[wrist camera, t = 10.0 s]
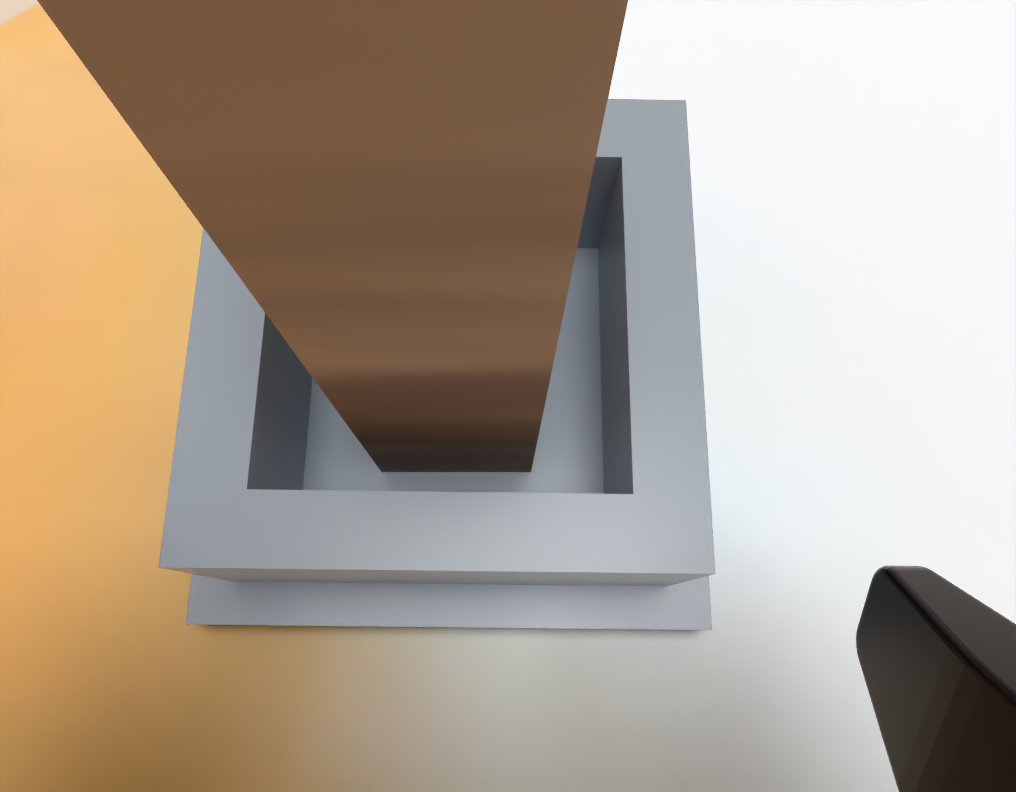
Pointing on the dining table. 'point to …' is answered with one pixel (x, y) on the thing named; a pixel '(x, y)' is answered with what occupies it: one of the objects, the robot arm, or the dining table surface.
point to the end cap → (469, 495)
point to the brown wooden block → (382, 189)
